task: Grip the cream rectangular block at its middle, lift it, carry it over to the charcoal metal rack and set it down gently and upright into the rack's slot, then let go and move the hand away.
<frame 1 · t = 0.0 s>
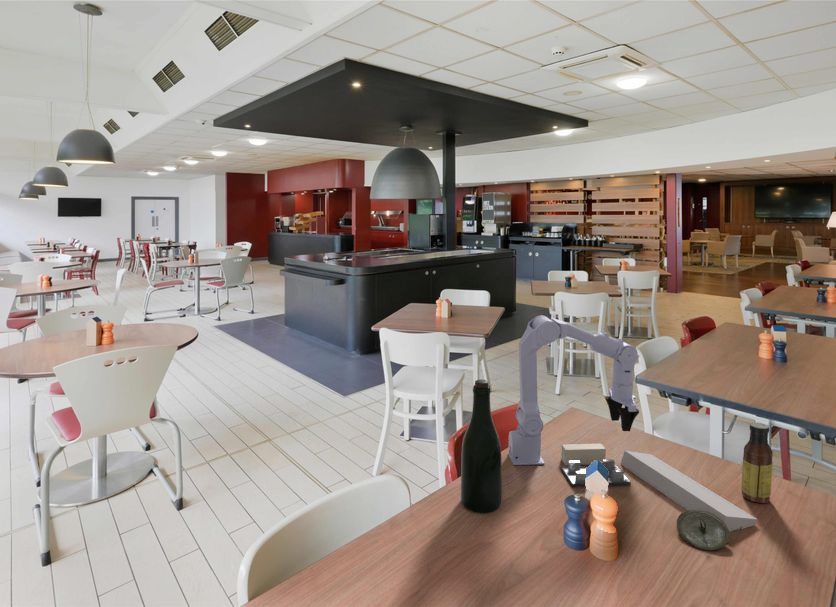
hand: (620, 425, 147), 10 cm above the table, tool pointing down, fingers open, 7 cm apart
rack: (595, 477, 136), on the table
dark green wine bottle: (481, 504, 125), on the table
lid: (701, 538, 110), on the table
cream rectangular block: (583, 462, 146), on the table
long grey wedge ramp: (680, 494, 129), on the table
sauce bottle: (754, 498, 125), on the table
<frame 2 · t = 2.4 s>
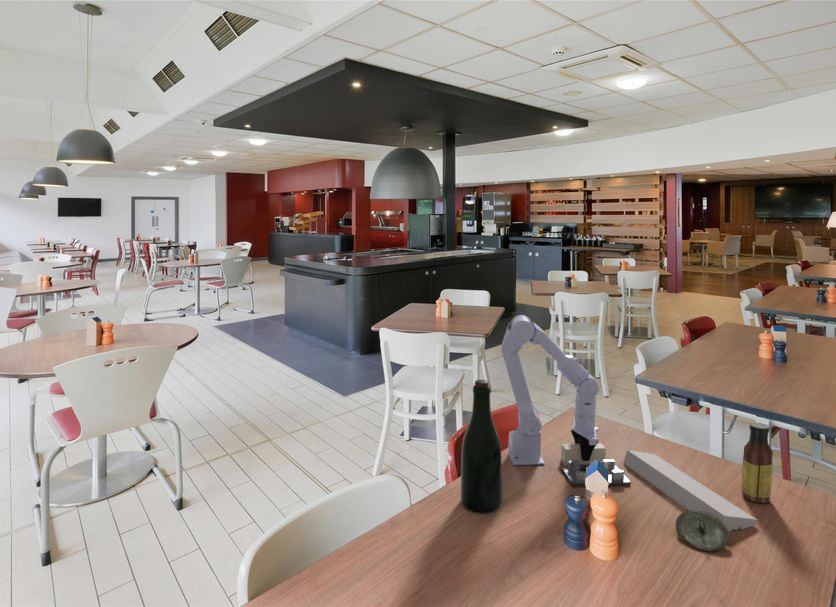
hand: (583, 457, 146), 1 cm above the table, tool pointing down, fingers closed on cream rectangular block, 3 cm apart
cream rectangular block: (582, 461, 146), on the table, touching gripper
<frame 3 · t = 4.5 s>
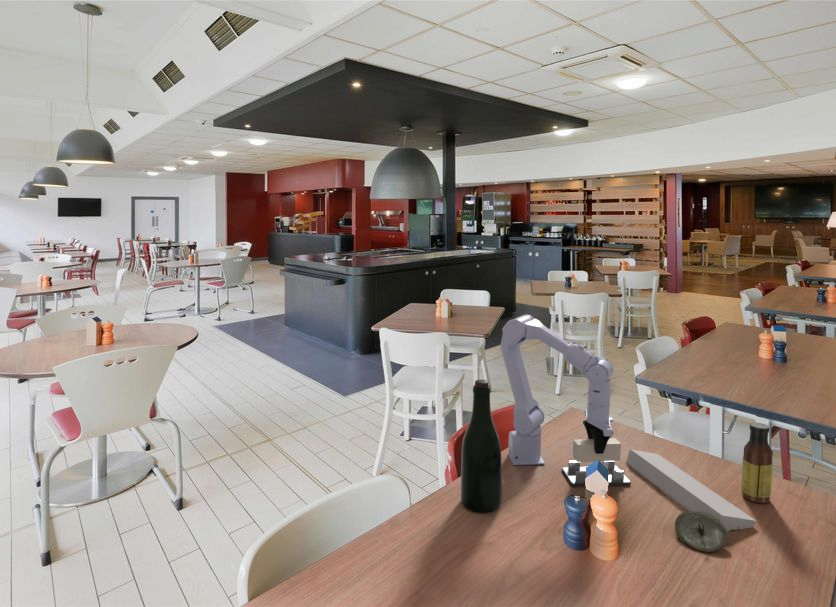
hand: (596, 449, 135), 8 cm above the table, tool pointing down, fingers closed on cream rectangular block, 3 cm apart
cream rectangular block: (596, 458, 135), point 6 cm above the table, touching gripper
when the fingers open (4 cm above the table, at t = 6.3 s): cream rectangular block stays where it is, resting on rack.
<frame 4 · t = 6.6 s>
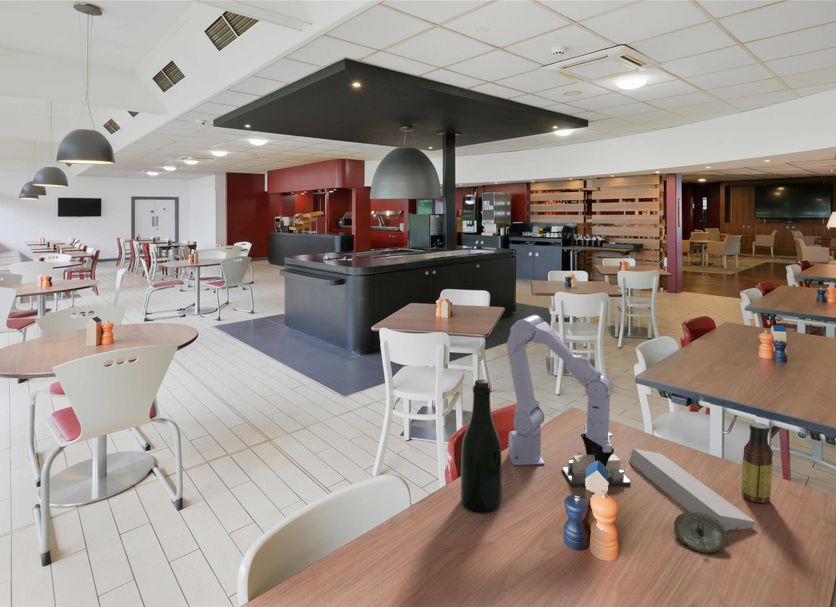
hand: (595, 464, 136), 4 cm above the table, tool pointing down, fingers open, 6 cm apart
cream rectangular block: (595, 474, 136), point 1 cm above the table, touching rack
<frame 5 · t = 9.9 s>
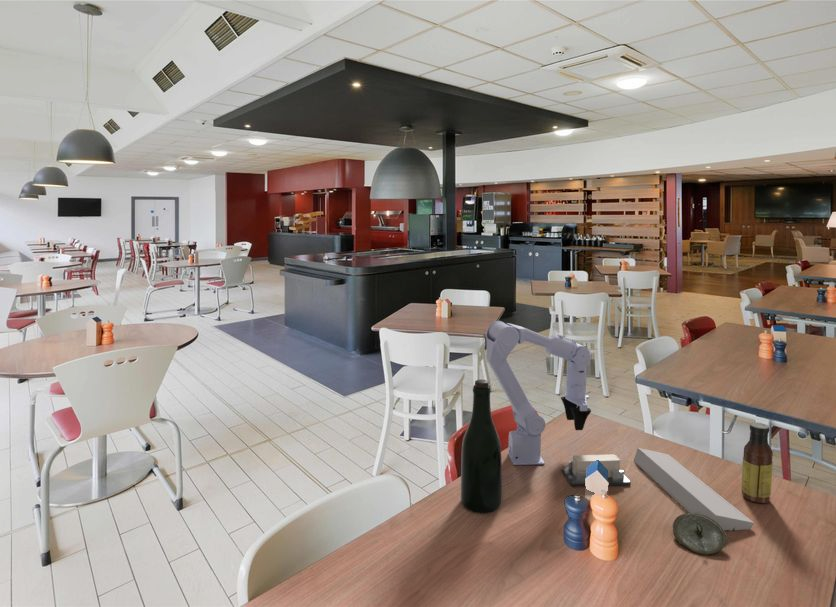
hand: (574, 424, 150), 9 cm above the table, tool pointing down, fingers open, 7 cm apart
at the end: cream rectangular block 0.1 cm off-centre on the rack, point 1.0 cm above the rack's base; cream rectangular block tilted 0°; the gripper is holding nothing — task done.
